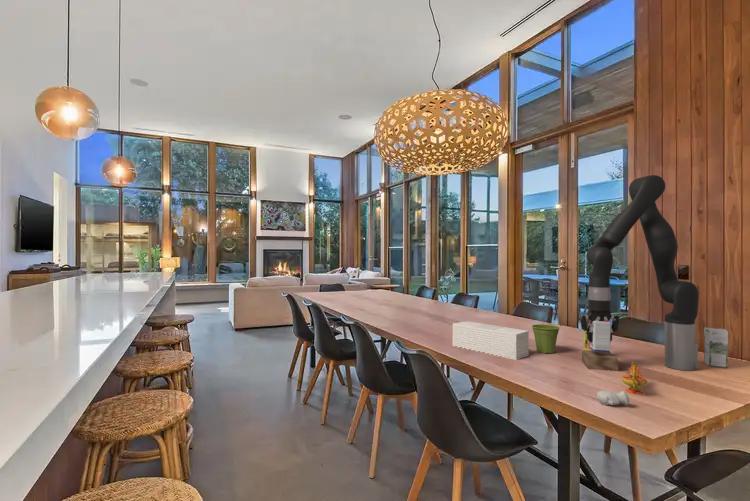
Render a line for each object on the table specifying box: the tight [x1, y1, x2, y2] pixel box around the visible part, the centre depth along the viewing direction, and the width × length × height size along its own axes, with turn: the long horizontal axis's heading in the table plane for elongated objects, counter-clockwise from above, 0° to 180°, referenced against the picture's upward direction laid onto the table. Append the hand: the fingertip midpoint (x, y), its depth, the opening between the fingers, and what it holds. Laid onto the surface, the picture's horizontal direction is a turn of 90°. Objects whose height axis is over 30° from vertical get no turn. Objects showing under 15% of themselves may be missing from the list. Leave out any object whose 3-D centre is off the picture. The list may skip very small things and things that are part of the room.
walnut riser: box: [581, 349, 619, 372], centre depth 151 cm, size 10×10×5 cm
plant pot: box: [530, 323, 561, 354], centre depth 173 cm, size 12×12×11 cm
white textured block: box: [452, 320, 530, 361], centre depth 175 cm, size 32×11×11 cm, turn 42°
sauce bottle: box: [582, 309, 593, 351], centre depth 164 cm, size 6×6×20 cm
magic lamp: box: [621, 361, 648, 396], centre depth 125 cm, size 7×18×11 cm, turn 145°
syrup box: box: [703, 326, 729, 369], centre depth 152 cm, size 6×6×14 cm
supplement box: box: [589, 321, 611, 352], centre depth 151 cm, size 6×6×12 cm
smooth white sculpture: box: [596, 390, 630, 407], centre depth 113 cm, size 4×8×5 cm
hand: (599, 341), depth 151 cm, fingers closed on supplement box, 6 cm apart
